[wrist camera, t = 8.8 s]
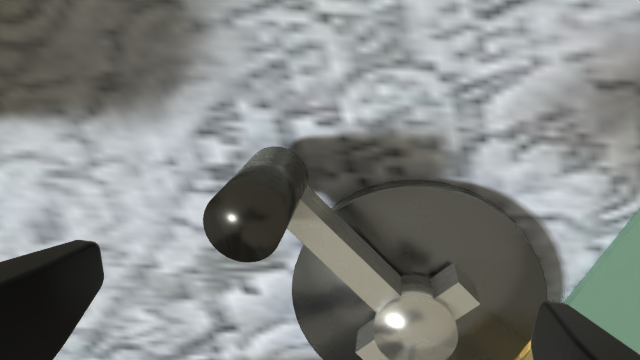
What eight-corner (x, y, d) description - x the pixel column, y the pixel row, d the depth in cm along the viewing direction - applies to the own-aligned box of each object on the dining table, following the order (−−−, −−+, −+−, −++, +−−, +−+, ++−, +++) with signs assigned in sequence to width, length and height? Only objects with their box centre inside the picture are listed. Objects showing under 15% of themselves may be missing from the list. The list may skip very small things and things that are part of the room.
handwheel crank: (489, 298, 20) (517, 382, 16) (392, 361, 23) (391, 451, 18) (300, 108, 19) (269, 140, 14) (214, 196, 21) (162, 249, 16)
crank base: (460, 416, 25) (463, 431, 24) (264, 327, 25) (259, 339, 24) (594, 247, 20) (604, 258, 19) (352, 138, 20) (350, 144, 19)
